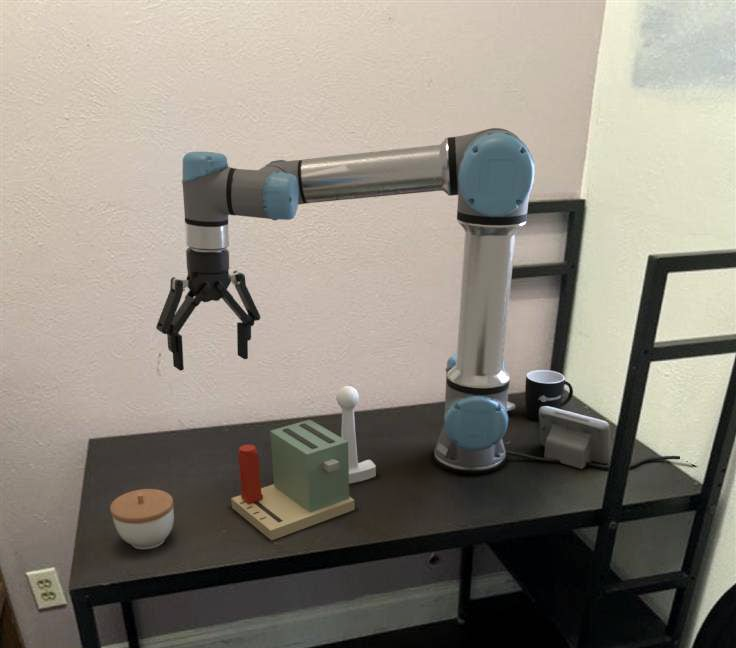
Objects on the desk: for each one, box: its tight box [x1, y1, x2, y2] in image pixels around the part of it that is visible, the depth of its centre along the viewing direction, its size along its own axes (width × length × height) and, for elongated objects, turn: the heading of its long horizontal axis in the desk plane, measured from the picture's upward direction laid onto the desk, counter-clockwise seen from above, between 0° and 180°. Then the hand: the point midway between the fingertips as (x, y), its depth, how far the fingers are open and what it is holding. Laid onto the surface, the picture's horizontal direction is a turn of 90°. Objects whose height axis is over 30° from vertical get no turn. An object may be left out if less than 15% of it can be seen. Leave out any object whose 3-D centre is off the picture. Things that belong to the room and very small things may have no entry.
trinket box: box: [109, 488, 175, 550], centre depth 138 cm, size 11×11×9 cm
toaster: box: [230, 419, 356, 541], centre depth 146 cm, size 16×18×14 cm
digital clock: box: [538, 406, 611, 470], centre depth 166 cm, size 16×9×11 cm, turn 39°
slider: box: [237, 444, 263, 504], centre depth 146 cm, size 3×3×11 cm
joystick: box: [335, 385, 377, 484], centre depth 158 cm, size 11×8×20 cm
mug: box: [524, 369, 574, 422], centre depth 186 cm, size 12×9×10 cm
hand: (211, 362), depth 149 cm, fingers open, 13 cm apart
